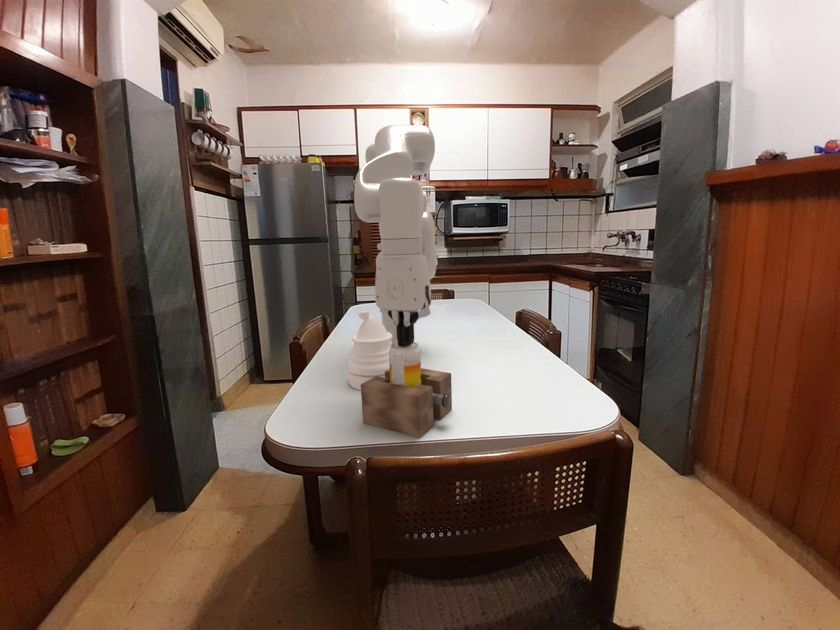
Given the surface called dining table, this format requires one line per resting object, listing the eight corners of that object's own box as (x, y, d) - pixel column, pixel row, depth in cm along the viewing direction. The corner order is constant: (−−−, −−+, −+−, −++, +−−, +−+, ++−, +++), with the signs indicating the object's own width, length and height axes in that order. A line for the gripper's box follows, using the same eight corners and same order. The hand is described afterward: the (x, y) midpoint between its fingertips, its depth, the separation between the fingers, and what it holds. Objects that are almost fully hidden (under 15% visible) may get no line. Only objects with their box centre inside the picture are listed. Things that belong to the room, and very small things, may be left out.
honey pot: (361, 395, 92) (356, 318, 88) (341, 379, 103) (336, 310, 99) (410, 382, 99) (407, 311, 95) (385, 368, 109) (382, 304, 106)
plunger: (421, 405, 77) (420, 392, 77) (427, 400, 79) (427, 387, 79) (445, 410, 74) (445, 397, 74) (451, 405, 77) (451, 392, 76)
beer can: (426, 412, 82) (424, 342, 79) (415, 425, 77) (412, 350, 74) (399, 408, 85) (396, 339, 81) (386, 421, 79) (383, 347, 76)
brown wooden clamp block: (363, 422, 79) (360, 384, 77) (399, 398, 90) (397, 364, 88) (420, 438, 72) (419, 396, 71) (451, 409, 83) (451, 373, 81)
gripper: (357, 250, 75) (363, 345, 78) (427, 249, 67) (430, 354, 71) (380, 248, 81) (385, 336, 85) (447, 247, 73) (449, 344, 77)
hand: (405, 344), depth 78 cm, fingers closed
